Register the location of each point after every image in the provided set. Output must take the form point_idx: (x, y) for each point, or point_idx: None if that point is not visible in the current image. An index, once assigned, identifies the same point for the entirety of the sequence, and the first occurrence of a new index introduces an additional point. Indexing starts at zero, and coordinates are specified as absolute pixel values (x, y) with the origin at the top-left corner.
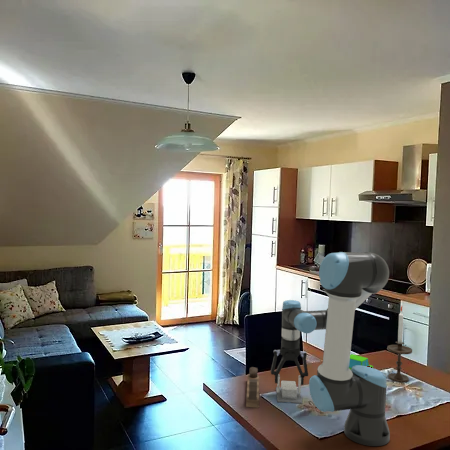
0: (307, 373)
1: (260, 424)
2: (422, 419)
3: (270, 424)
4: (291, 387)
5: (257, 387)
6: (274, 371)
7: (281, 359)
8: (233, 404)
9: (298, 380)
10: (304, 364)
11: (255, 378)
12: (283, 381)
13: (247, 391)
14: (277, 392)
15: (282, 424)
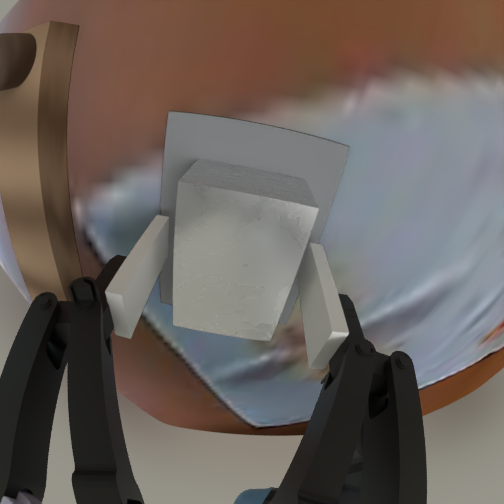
0: (380, 402)
1: (122, 385)
2: (500, 359)
3: (146, 391)
4: (241, 312)
5: (43, 235)
6: (66, 333)
7: (77, 469)
8: (24, 289)
9: (323, 294)
10: (367, 480)
11: (23, 91)
12: (196, 204)
13: (24, 275)
14: (166, 205)
15: (178, 396)
